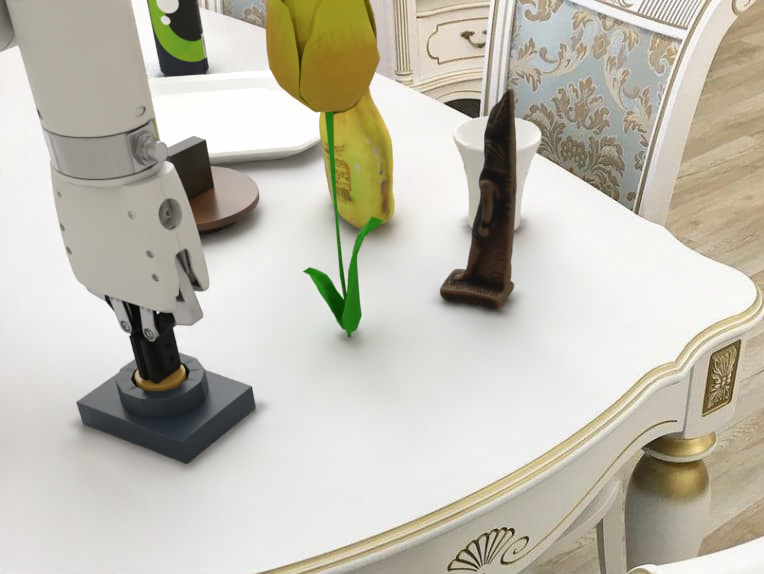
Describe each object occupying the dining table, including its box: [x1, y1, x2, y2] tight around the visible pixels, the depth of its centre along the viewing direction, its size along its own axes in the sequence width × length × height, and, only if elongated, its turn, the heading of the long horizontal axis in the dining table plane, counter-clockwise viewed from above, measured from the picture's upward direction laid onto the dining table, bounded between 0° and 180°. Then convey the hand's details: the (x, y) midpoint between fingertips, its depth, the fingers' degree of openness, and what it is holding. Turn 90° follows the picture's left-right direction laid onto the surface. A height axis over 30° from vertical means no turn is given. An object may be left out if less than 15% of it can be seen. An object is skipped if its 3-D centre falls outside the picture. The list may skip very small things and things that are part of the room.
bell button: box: [135, 364, 187, 391], centre depth 90 cm, size 4×4×2 cm
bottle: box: [319, 87, 395, 230], centre depth 112 cm, size 12×6×20 cm, turn 25°
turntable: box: [165, 136, 260, 231], centre depth 115 cm, size 14×14×6 cm
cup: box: [452, 115, 542, 231], centre depth 114 cm, size 9×9×10 cm
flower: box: [265, 0, 383, 338], centre depth 91 cm, size 9×8×30 cm
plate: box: [147, 69, 321, 166], centre depth 133 cm, size 25×25×2 cm
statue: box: [439, 88, 517, 310], centre depth 100 cm, size 4×7×20 cm, turn 71°
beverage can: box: [146, 0, 210, 77], centre depth 140 cm, size 6×6×15 cm
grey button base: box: [76, 352, 257, 465], centre depth 91 cm, size 11×9×4 cm
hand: (161, 372), depth 90 cm, fingers closed
